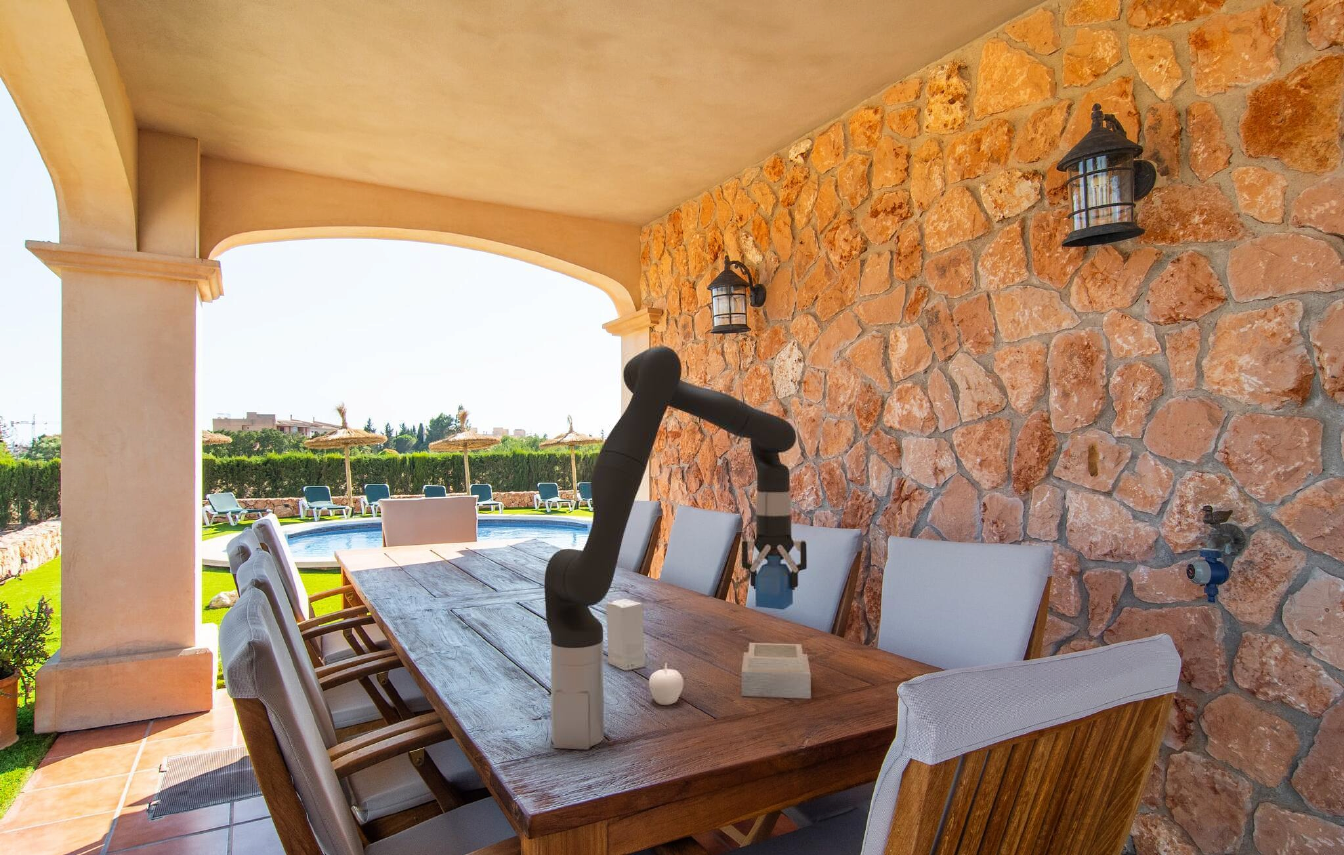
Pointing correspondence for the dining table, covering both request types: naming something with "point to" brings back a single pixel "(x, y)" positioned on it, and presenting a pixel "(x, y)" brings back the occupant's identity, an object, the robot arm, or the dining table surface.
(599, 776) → the dining table surface
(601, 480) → the robot arm
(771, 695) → the white square stand
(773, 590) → the perfume bottle
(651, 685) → the plain white apple
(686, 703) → the dining table surface
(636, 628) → the skincare box
